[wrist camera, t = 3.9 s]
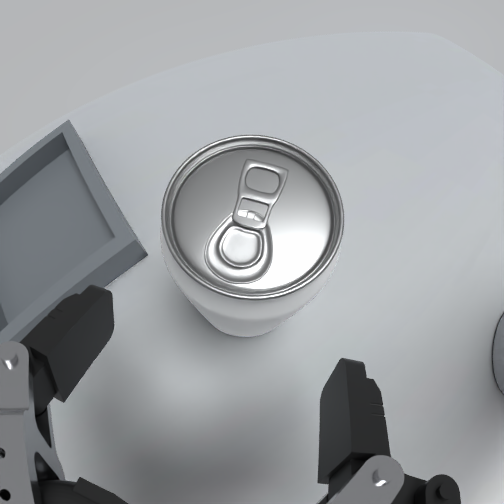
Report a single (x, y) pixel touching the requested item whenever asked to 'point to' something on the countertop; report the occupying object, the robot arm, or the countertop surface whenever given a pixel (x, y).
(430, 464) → the countertop surface
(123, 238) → the tray
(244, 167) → the can
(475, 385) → the countertop surface
